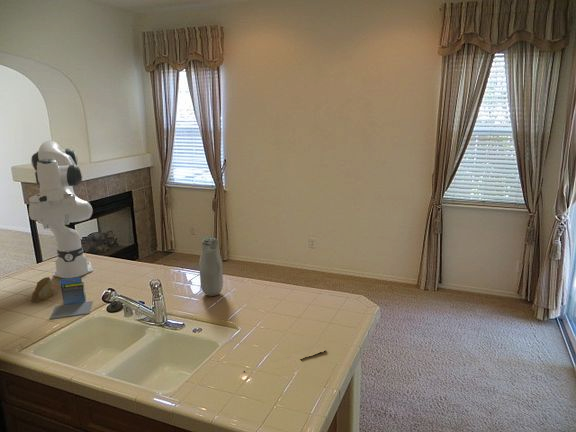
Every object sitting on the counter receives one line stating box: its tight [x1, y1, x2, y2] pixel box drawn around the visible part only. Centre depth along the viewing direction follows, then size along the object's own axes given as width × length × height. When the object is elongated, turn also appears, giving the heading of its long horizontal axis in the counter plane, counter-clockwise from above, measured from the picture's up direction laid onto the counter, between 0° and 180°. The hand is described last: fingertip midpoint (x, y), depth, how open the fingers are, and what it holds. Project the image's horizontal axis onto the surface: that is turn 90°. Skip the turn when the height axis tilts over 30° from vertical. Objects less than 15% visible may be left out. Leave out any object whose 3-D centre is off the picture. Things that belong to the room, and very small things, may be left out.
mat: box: [49, 300, 94, 320], centre depth 178 cm, size 12×15×1 cm
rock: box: [30, 276, 54, 303], centre depth 189 cm, size 11×9×10 cm
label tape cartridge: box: [59, 276, 87, 305], centre depth 184 cm, size 9×4×12 cm, turn 108°
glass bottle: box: [198, 236, 224, 297], centre depth 189 cm, size 10×10×28 cm
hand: (57, 226), depth 185 cm, fingers open, 8 cm apart
